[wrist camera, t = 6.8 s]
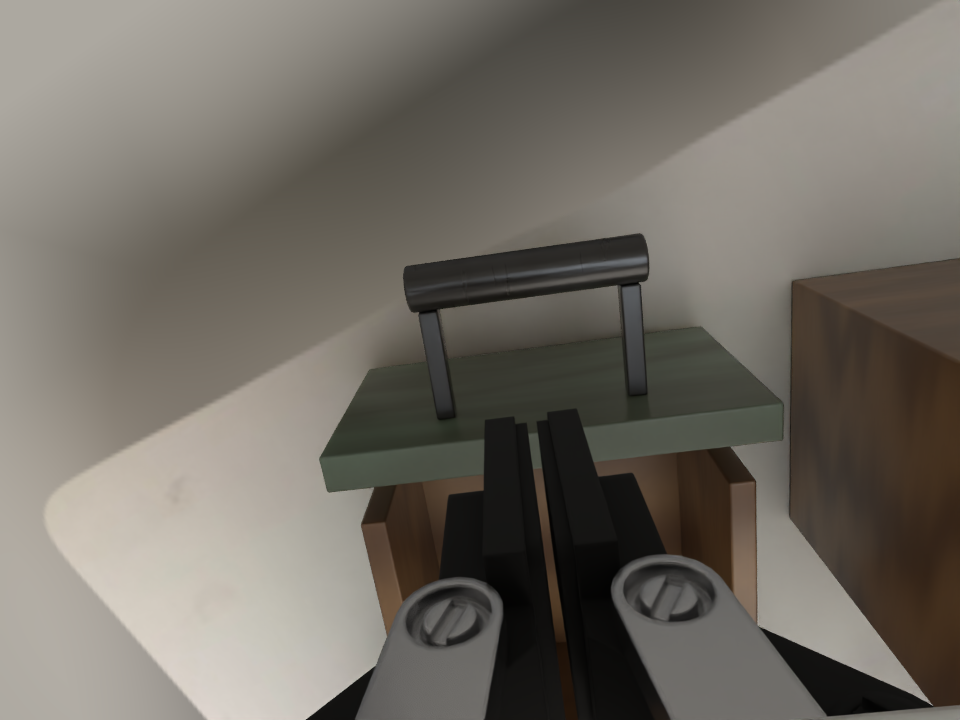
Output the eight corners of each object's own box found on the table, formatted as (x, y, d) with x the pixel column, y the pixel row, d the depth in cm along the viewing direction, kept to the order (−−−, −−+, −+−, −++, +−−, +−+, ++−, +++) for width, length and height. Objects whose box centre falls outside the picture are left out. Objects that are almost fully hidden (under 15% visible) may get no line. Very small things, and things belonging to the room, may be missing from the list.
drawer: (343, 249, 25) (277, 297, 17) (697, 198, 24) (785, 226, 16) (428, 650, 31) (406, 810, 24) (712, 623, 30) (782, 782, 23)
